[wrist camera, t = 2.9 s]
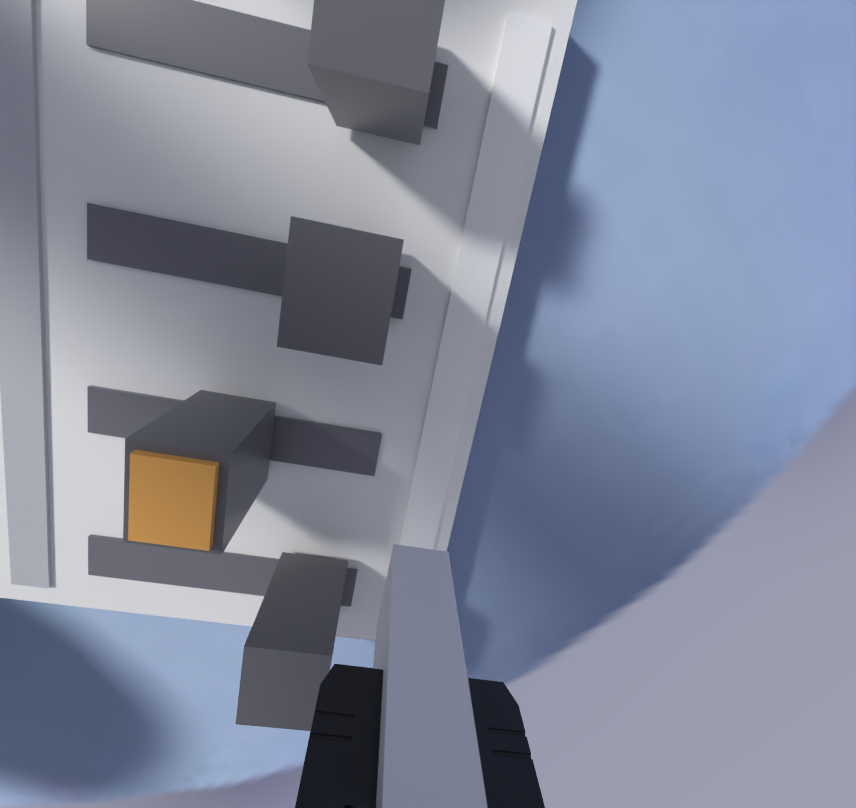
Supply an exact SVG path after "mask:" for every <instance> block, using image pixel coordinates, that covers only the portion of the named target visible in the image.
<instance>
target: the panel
mask: <svg viewBox="0 0 856 808" xmlns="http://www.w3.org/2000/svg"><path fill="white" fill-rule="evenodd" d="M576 4H577V0H445V4H444V10H443V16H442V22H441V28H440V33H439V39H438V45H437V51H436V57H435V62H434V68H433V74H432V80H431V86H430V91H429V97H428V103H427V108H426V114H425V120H424V126H423V131H422V137H421V143H420V145H416V144H412V143H408V142H403V141H399V140H395V139H390V138H386V137H382V136H378V135H373V134H369V133H365V132H360V131H356V130H352V129H348V128H343V127H339V126H336V124H335V122H334V120H333V117H332V115H331V113H330V111H329V109H328V107H327V105H326V102H325V100H324V98H323V96H322V94H321V92H320V90H319V87H318V85H317V83H316V81H315V79H314V77H313V74H312V72H311V70H310V68H309V66H308V64H307V62H308V52H309V43H310V34H311V25H312V15H313V6H314V0H0V598H8V599H17V600H26V601H34V602H43V603H52V604H60V605H69V606H78V607H87V608H95V609H104V610H113V611H121V612H130V613H139V614H148V615H156V616H165V617H174V618H182V619H191V620H200V621H209V622H217V623H226V624H235V625H243V626H253V623H254V621H255V618H256V616H257V613H258V611H259V608H260V606H261V604H262V601H263V599H264V596H265V594H266V591H267V589H268V586H269V584H270V581H271V579H272V576H273V574H274V571H275V569H276V566H277V564H278V561H279V559H280V556H281V554H282V552H286V553H294V554H301V555H309V556H317V557H324V558H332V559H339V560H347V561H348V566H347V572H346V578H345V584H344V590H343V595H342V601H341V607H340V613H339V619H338V625H337V630H336V636H339V637H348V638H357V639H365V640H374V641H376V628H377V623H378V618H379V613H380V608H381V603H382V598H383V593H384V588H385V583H386V578H387V573H388V568H389V563H390V558H391V553H392V548H393V544H398V545H404V546H411V547H418V548H425V549H432V550H439V551H446V552H447V548H448V544H449V539H450V535H451V531H452V527H453V522H454V518H455V514H456V510H457V506H458V501H459V497H460V493H461V489H462V485H463V480H464V476H465V472H466V468H467V463H468V459H469V455H470V451H471V447H472V442H473V438H474V434H475V430H476V426H477V421H478V417H479V413H480V409H481V404H482V400H483V396H484V392H485V388H486V383H487V379H488V375H489V371H490V367H491V362H492V358H493V354H494V350H495V345H496V341H497V337H498V333H499V329H500V324H501V320H502V316H503V312H504V307H505V303H506V299H507V295H508V291H509V286H510V282H511V278H512V274H513V270H514V265H515V261H516V257H517V253H518V248H519V244H520V240H521V236H522V232H523V227H524V223H525V219H526V215H527V211H528V206H529V202H530V198H531V194H532V189H533V185H534V181H535V177H536V173H537V168H538V164H539V160H540V156H541V152H542V147H543V143H544V139H545V135H546V130H547V126H548V122H549V118H550V114H551V109H552V105H553V101H554V97H555V92H556V88H557V84H558V80H559V76H560V71H561V67H562V63H563V59H564V55H565V50H566V46H567V42H568V38H569V33H570V29H571V25H572V21H573V17H574V12H575V8H576ZM291 216H294V217H298V218H303V219H308V220H313V221H317V222H322V223H327V224H332V225H337V226H341V227H346V228H351V229H356V230H360V231H365V232H370V233H375V234H379V235H384V236H389V237H394V238H398V239H403V240H404V242H403V248H402V254H401V259H400V265H399V271H398V277H397V283H396V288H395V294H394V300H393V306H392V312H391V317H390V323H389V329H388V335H387V341H386V346H385V352H384V358H383V364H382V365H376V364H371V363H365V362H359V361H354V360H348V359H343V358H337V357H332V356H326V355H320V354H315V353H309V352H304V351H298V350H293V349H287V348H281V347H277V339H278V329H279V320H280V311H281V302H282V292H283V283H284V274H285V265H286V255H287V246H288V237H289V228H290V219H291ZM200 390H205V391H211V392H217V393H223V394H229V395H235V396H241V397H247V398H253V399H259V400H265V401H271V402H276V409H275V418H274V427H273V436H272V445H271V454H270V463H269V472H268V479H267V481H266V483H265V484H264V486H263V488H262V489H261V491H260V493H259V494H258V496H257V497H256V499H255V501H254V502H253V504H252V506H251V507H250V509H249V511H248V512H247V514H246V516H245V517H244V519H243V521H242V522H241V524H240V525H239V527H238V529H237V530H236V532H235V534H234V535H233V537H232V539H231V540H230V542H229V544H228V545H227V547H226V549H225V550H224V552H223V554H222V555H219V554H211V553H204V552H196V551H188V550H181V549H173V548H165V547H158V546H150V545H142V544H135V543H127V542H123V519H124V469H125V438H127V437H128V436H130V435H131V434H133V433H135V432H136V431H138V430H139V429H141V428H142V427H144V426H145V425H147V424H149V423H150V422H152V421H153V420H155V419H156V418H158V417H159V416H161V415H162V414H164V413H166V412H167V411H169V410H170V409H172V408H173V407H175V406H176V405H178V404H180V403H181V402H183V401H184V400H186V399H187V398H189V397H190V396H192V395H194V394H195V393H197V392H198V391H200Z"/></svg>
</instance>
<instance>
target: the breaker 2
mask: <svg viewBox="0 0 856 808" xmlns="http://www.w3.org/2000/svg"><path fill="white" fill-rule="evenodd" d="M444 4H445V0H314V6H313V15H312V25H311V34H310V43H309V52H308V62H307V64H308V66H309V68H310V70H311V72H312V74H313V77H314V79H315V81H316V83H317V85H318V87H319V90H320V92H321V94H322V96H323V98H324V100H325V102H326V105H327V107H328V109H329V111H330V113H331V115H332V117H333V120H334V122H335V124H336V126H339V127H343V128H348V129H352V130H356V131H360V132H365V133H369V134H373V135H378V136H382V137H386V138H390V139H395V140H399V141H403V142H408V143H412V144H416V145H420V143H421V137H422V131H423V126H424V120H425V114H426V108H427V103H428V97H429V91H430V86H431V80H432V74H433V68H434V62H435V57H436V51H437V45H438V39H439V33H440V28H441V22H442V16H443V10H444Z"/></svg>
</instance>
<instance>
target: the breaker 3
mask: <svg viewBox="0 0 856 808" xmlns="http://www.w3.org/2000/svg"><path fill="white" fill-rule="evenodd" d="M403 242H404V240H403V239H398V238H394V237H389V236H384V235H379V234H375V233H370V232H365V231H360V230H356V229H351V228H346V227H341V226H337V225H332V224H327V223H322V222H317V221H313V220H308V219H303V218H298V217H294V216H291V219H290V228H289V237H288V246H287V255H286V265H285V274H284V283H283V292H282V302H281V311H280V320H279V329H278V339H277V347H281V348H287V349H293V350H298V351H304V352H309V353H315V354H320V355H326V356H332V357H337V358H343V359H348V360H354V361H359V362H365V363H371V364H376V365H382V364H383V358H384V352H385V346H386V341H387V335H388V329H389V323H390V317H391V312H392V306H393V300H394V294H395V288H396V283H397V277H398V271H399V265H400V259H401V254H402V248H403Z"/></svg>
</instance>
